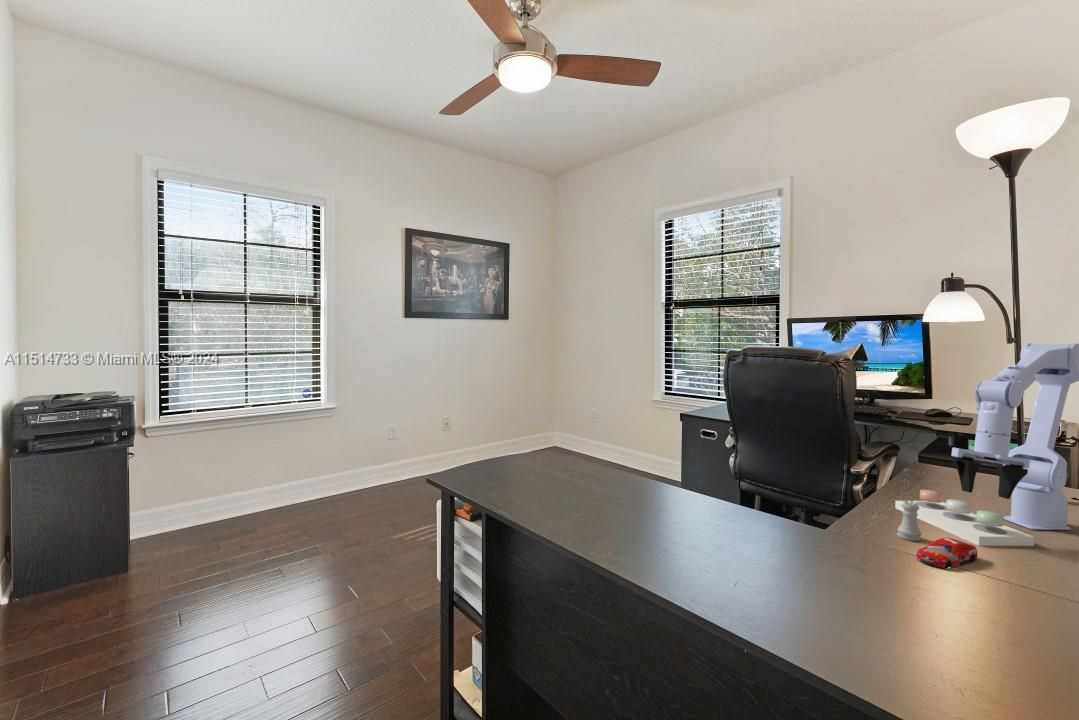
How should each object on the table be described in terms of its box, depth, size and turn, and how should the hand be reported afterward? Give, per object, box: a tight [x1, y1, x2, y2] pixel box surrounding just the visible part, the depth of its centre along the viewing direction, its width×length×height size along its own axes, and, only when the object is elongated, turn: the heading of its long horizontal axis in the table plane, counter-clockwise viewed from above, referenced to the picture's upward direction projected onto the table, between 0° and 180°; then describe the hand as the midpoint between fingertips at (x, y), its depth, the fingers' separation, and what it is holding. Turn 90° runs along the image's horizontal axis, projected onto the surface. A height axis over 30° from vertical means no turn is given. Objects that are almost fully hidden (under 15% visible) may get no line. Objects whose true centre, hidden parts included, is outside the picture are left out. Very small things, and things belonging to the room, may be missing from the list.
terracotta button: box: [919, 489, 943, 503], centre depth 125 cm, size 4×4×2 cm
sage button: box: [976, 510, 1005, 527], centre depth 109 cm, size 4×4×2 cm
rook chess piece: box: [896, 500, 923, 543], centre depth 109 cm, size 4×4×8 cm
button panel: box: [894, 500, 1035, 547], centre depth 117 cm, size 12×24×2 cm, turn 1°
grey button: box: [945, 498, 972, 514], centre depth 117 cm, size 4×4×2 cm
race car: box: [916, 537, 978, 569], centre depth 98 cm, size 13×5×4 cm, turn 111°
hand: (985, 494), depth 110 cm, fingers open, 7 cm apart
